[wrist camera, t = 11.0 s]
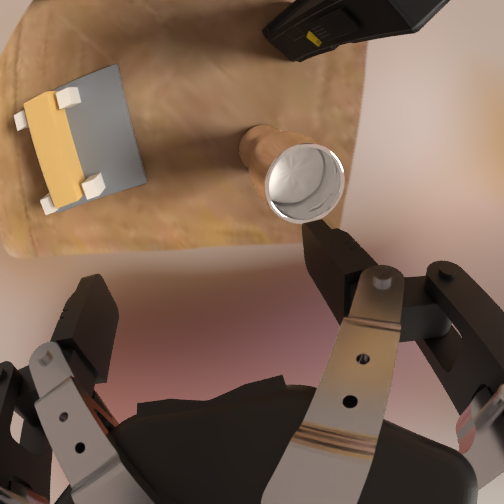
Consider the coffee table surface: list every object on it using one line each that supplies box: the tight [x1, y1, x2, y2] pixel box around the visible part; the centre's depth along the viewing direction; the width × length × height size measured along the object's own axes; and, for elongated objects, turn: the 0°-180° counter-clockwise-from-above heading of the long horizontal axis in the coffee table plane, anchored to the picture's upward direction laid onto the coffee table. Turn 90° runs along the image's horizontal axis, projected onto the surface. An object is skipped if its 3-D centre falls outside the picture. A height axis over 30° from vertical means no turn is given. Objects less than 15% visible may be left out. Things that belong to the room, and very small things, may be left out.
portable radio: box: [261, 0, 450, 62], centre depth 18 cm, size 8×6×25 cm
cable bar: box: [24, 91, 85, 209], centre depth 27 cm, size 13×3×4 cm, turn 10°
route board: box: [14, 64, 148, 215], centre depth 28 cm, size 15×13×4 cm
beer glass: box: [239, 125, 345, 224], centre depth 29 cm, size 7×7×15 cm
